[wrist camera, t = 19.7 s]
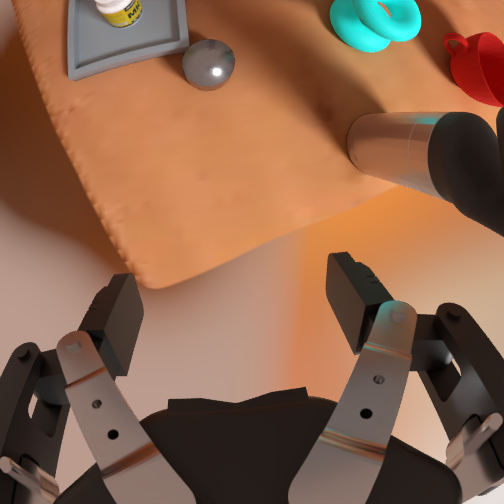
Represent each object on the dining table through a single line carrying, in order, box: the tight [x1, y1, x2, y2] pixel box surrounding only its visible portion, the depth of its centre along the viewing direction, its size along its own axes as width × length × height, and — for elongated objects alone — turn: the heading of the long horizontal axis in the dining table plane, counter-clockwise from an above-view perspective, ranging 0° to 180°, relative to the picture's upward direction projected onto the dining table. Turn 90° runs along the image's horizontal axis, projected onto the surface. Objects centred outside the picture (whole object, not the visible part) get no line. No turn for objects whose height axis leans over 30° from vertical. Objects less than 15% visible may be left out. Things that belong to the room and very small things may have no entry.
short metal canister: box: [182, 39, 235, 91], centre depth 30 cm, size 6×6×4 cm
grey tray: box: [67, 0, 190, 81], centre depth 26 cm, size 16×16×2 cm
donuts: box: [330, 0, 421, 52], centre depth 26 cm, size 10×10×10 cm
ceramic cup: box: [443, 32, 504, 107], centre depth 30 cm, size 13×17×10 cm
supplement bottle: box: [95, 0, 143, 29], centre depth 22 cm, size 5×5×8 cm
